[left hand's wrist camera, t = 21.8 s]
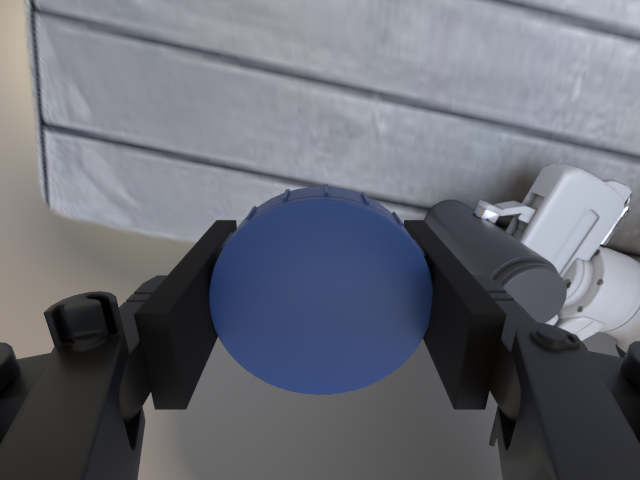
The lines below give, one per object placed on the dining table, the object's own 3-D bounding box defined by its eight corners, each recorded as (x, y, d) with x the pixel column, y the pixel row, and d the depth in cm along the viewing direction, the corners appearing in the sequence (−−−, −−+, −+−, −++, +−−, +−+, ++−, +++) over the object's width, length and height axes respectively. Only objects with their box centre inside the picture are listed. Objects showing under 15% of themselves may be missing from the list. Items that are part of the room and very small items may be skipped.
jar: (430, 197, 40) (506, 259, 24) (477, 202, 40) (585, 268, 24) (418, 242, 42) (482, 328, 26) (464, 247, 42) (555, 336, 26)
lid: (450, 318, 12) (468, 347, 11) (282, 387, 13) (278, 422, 12) (371, 144, 10) (380, 151, 9) (180, 244, 11) (159, 265, 10)
